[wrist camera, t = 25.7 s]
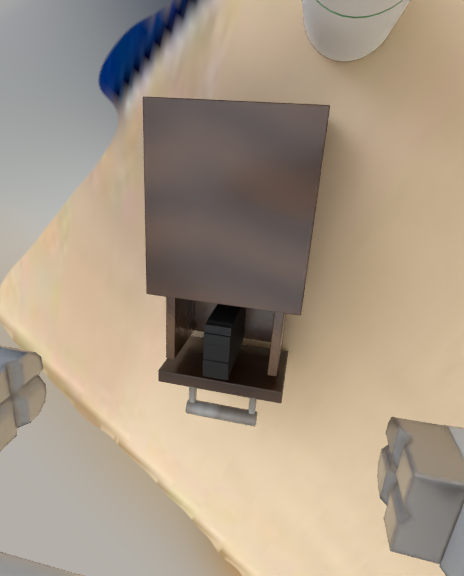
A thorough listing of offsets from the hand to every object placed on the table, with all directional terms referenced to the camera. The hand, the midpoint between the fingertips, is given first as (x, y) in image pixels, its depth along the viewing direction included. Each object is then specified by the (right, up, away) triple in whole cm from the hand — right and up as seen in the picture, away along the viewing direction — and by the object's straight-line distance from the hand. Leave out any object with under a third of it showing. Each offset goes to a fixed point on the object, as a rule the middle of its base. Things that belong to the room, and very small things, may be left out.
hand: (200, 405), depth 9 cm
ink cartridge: (+1, 0, +29) cm, 29 cm away
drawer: (+1, 0, +30) cm, 30 cm away
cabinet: (+2, +11, +27) cm, 29 cm away
